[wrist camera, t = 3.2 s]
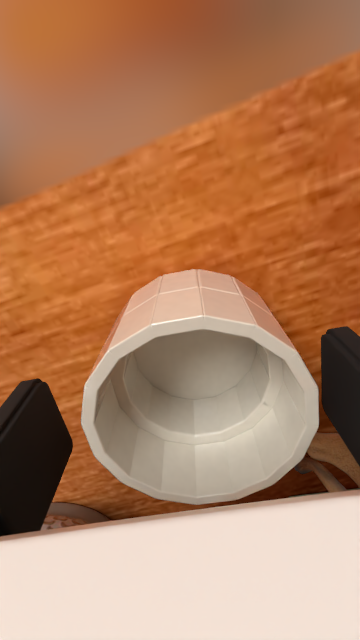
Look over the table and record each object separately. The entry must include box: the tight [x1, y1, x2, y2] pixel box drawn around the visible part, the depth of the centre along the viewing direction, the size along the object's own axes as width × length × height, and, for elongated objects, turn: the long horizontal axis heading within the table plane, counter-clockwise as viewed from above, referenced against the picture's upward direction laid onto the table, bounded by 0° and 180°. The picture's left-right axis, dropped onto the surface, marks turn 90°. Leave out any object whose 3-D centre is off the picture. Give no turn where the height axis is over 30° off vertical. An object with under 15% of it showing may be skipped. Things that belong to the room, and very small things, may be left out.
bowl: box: [81, 269, 319, 505], centre depth 11 cm, size 7×7×5 cm
